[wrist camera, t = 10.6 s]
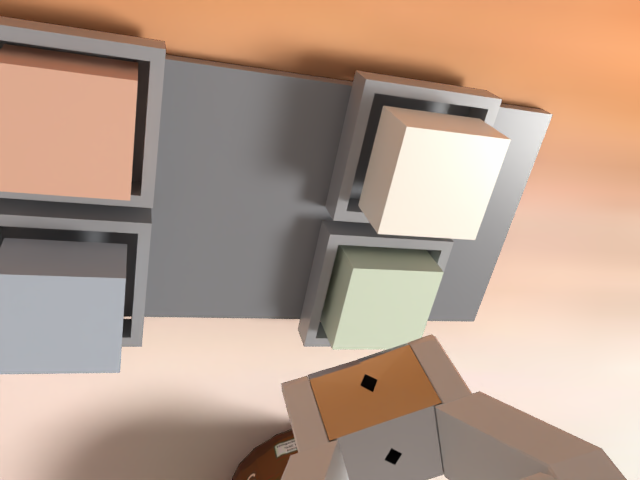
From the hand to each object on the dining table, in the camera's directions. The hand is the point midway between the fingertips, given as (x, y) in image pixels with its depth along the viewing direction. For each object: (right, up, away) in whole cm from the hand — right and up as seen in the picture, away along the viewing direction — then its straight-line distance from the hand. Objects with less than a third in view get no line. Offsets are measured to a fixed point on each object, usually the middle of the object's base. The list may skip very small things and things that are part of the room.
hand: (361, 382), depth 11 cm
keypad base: (-4, +5, +16) cm, 17 cm away
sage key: (+2, +1, +19) cm, 19 cm away
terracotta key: (-10, +8, +12) cm, 17 cm away
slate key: (-11, +1, +13) cm, 17 cm away
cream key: (+4, +6, +15) cm, 16 cm away
